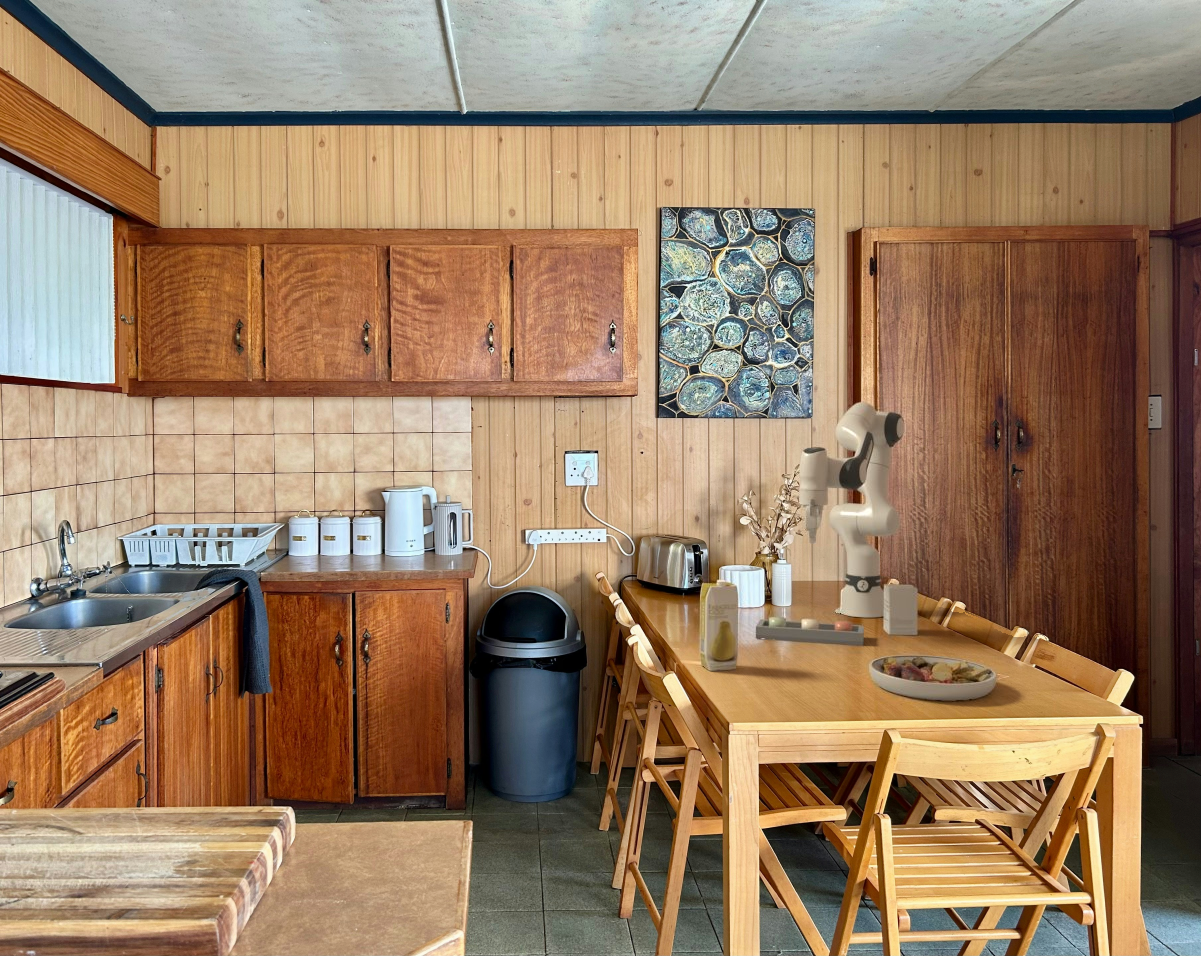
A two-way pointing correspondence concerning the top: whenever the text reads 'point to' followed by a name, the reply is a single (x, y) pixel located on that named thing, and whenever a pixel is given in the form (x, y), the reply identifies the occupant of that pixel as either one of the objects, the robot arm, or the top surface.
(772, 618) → the sage button
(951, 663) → the bowl
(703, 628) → the juice carton
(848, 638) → the grey rectangular tray
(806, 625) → the cream round piece
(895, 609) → the supplement box
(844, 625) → the brick button
